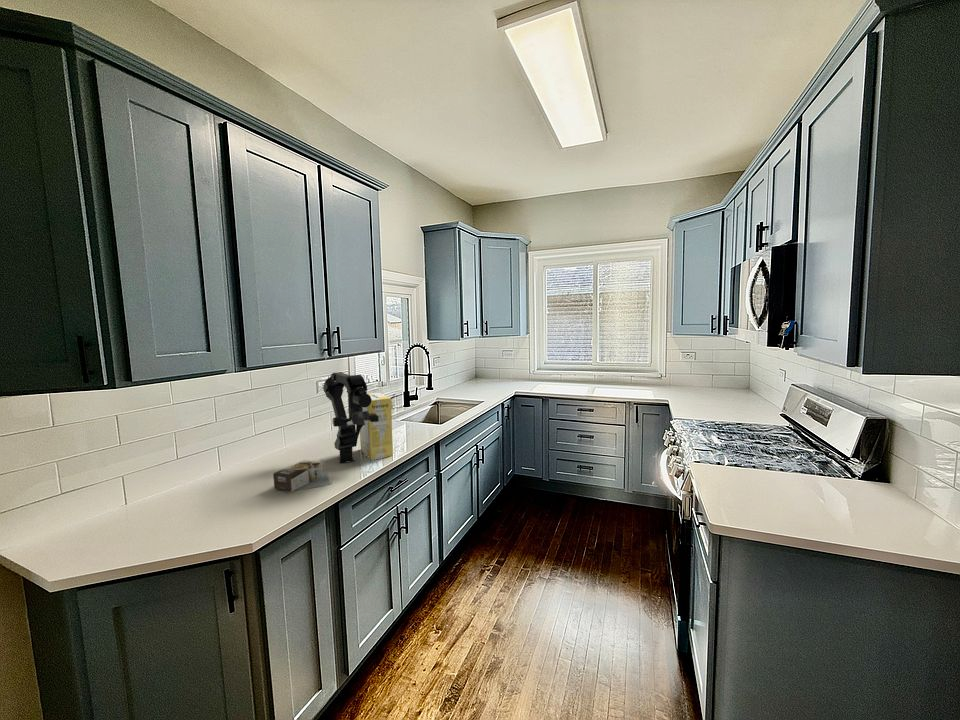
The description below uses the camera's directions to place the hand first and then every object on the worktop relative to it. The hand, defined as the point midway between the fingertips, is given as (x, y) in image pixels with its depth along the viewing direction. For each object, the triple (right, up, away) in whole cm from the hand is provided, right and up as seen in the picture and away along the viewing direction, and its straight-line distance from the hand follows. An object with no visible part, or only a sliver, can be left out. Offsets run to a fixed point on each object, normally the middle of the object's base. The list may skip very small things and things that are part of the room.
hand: (356, 438), depth 174 cm
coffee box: (-15, -11, -8) cm, 20 cm away
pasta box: (+3, -11, +21) cm, 24 cm away
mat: (-16, -14, -13) cm, 25 cm away
